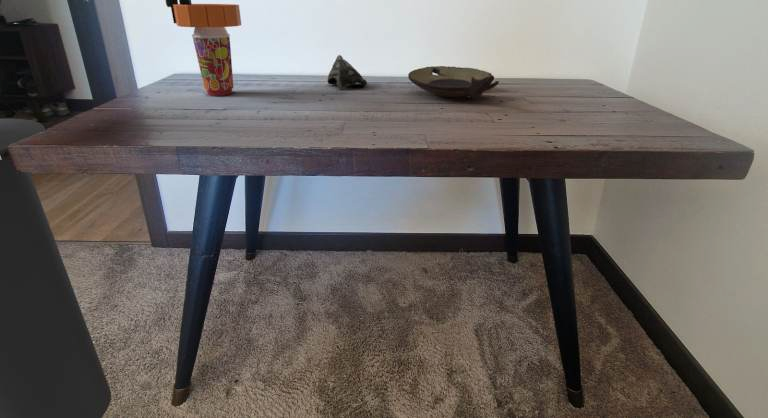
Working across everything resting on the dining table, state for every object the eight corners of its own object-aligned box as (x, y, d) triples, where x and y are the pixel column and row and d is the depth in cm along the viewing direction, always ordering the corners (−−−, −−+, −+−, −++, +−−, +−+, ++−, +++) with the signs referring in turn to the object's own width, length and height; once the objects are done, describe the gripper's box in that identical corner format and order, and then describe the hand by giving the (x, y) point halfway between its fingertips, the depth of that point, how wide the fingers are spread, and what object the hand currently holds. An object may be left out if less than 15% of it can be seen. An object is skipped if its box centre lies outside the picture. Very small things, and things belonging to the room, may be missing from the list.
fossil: (376, 85, 118) (362, 51, 112) (351, 104, 116) (335, 71, 110) (355, 77, 126) (340, 46, 120) (331, 96, 124) (315, 65, 117)
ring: (168, 27, 95) (163, 4, 93) (189, 23, 108) (186, 3, 106) (232, 27, 96) (229, 5, 94) (246, 23, 109) (244, 4, 107)
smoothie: (195, 93, 108) (180, 5, 100) (225, 89, 114) (213, 5, 105) (214, 98, 104) (199, 6, 95) (244, 93, 109) (232, 5, 101)
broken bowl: (487, 86, 122) (490, 57, 119) (509, 112, 96) (514, 76, 92) (407, 84, 123) (408, 55, 120) (407, 109, 97) (408, 73, 93)
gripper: (201, -96, 95) (218, 22, 105) (133, -97, 94) (157, 21, 104) (189, -103, 88) (209, 24, 98) (115, -104, 87) (143, 23, 98)
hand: (182, 22), depth 101 cm, fingers closed on ring, 1 cm apart
